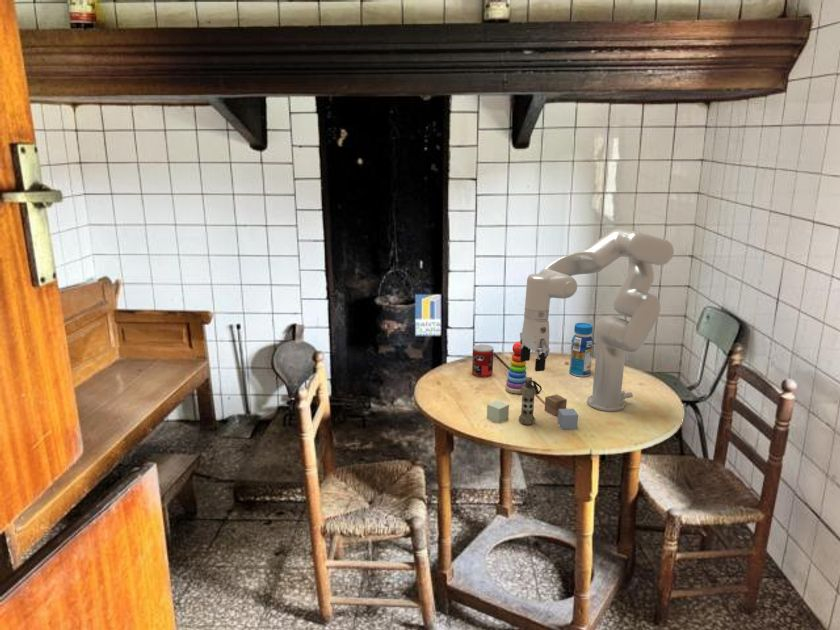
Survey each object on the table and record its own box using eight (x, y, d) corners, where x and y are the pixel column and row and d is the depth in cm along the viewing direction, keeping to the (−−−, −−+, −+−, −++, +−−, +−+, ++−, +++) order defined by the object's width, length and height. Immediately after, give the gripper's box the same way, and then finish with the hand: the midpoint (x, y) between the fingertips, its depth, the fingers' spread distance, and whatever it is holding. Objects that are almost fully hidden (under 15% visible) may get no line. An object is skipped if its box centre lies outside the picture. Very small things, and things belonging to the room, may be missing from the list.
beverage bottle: (566, 369, 255) (569, 321, 249) (586, 369, 255) (591, 321, 250) (572, 377, 247) (576, 328, 241) (593, 377, 247) (598, 327, 242)
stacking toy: (507, 394, 230) (509, 345, 225) (503, 386, 237) (505, 338, 232) (528, 394, 230) (531, 345, 225) (524, 386, 238) (527, 338, 233)
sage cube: (496, 414, 213) (497, 400, 212) (508, 418, 210) (508, 404, 209) (486, 418, 210) (487, 404, 209) (498, 423, 207) (499, 409, 205)
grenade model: (540, 425, 205) (543, 382, 201) (519, 424, 205) (521, 381, 201) (538, 417, 211) (541, 374, 207) (517, 416, 212) (520, 374, 208)
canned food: (469, 371, 252) (470, 345, 249) (487, 369, 254) (488, 343, 251) (476, 378, 245) (477, 351, 242) (495, 376, 247) (496, 349, 244)
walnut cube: (556, 407, 219) (556, 394, 218) (565, 413, 215) (566, 399, 213) (544, 410, 217) (545, 396, 215) (554, 416, 212) (555, 402, 211)
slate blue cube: (572, 422, 208) (573, 408, 206) (577, 429, 203) (578, 415, 202) (557, 423, 207) (558, 408, 206) (561, 429, 203) (562, 415, 201)
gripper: (561, 320, 192) (556, 373, 196) (533, 306, 208) (529, 356, 212) (539, 321, 190) (534, 375, 194) (513, 307, 205) (509, 358, 210)
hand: (532, 365), depth 203 cm, fingers open, 9 cm apart
